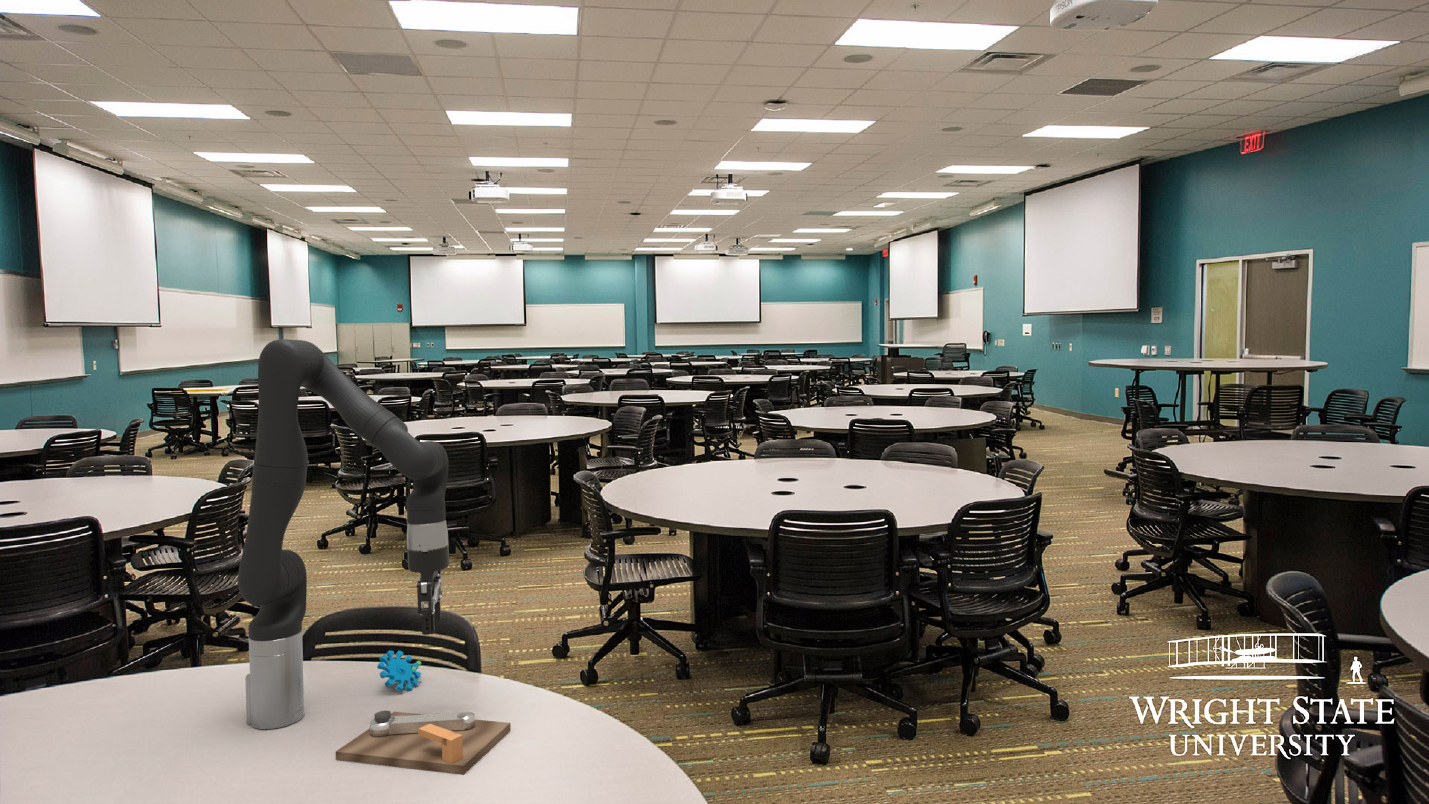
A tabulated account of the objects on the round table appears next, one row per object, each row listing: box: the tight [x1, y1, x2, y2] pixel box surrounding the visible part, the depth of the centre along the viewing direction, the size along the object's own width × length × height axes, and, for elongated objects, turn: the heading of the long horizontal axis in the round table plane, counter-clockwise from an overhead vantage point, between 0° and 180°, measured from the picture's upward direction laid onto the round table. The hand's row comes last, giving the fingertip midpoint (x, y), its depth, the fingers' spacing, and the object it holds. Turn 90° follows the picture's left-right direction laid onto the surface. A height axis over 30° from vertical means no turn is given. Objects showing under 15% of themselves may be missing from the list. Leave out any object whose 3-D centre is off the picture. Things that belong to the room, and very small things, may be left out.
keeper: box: [418, 724, 463, 764], centre depth 139 cm, size 9×2×4 cm, turn 57°
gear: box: [376, 650, 422, 692], centre depth 174 cm, size 11×6×10 cm
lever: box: [369, 711, 476, 736], centre depth 149 cm, size 19×4×2 cm, turn 97°
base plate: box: [335, 710, 512, 775], centre depth 146 cm, size 25×17×5 cm
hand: (431, 627), depth 155 cm, fingers open, 8 cm apart
